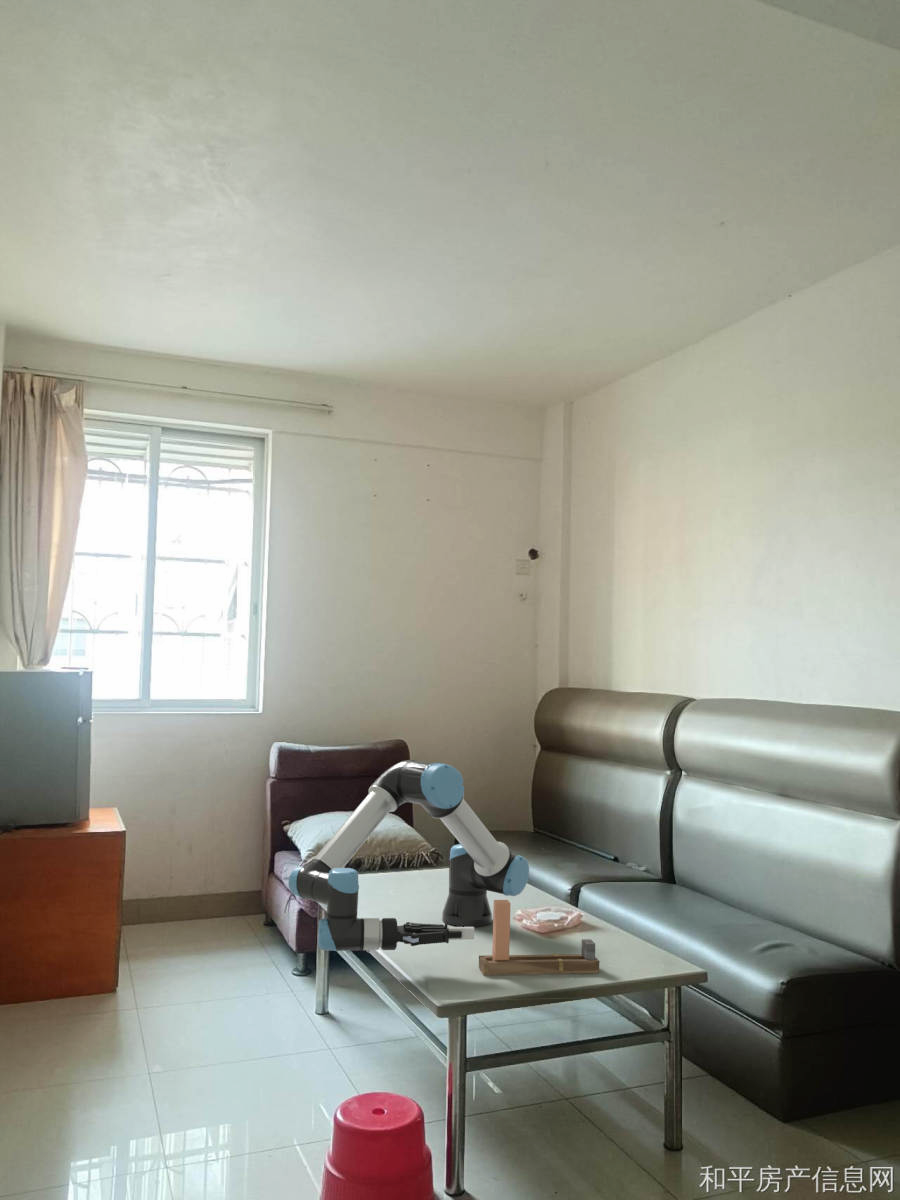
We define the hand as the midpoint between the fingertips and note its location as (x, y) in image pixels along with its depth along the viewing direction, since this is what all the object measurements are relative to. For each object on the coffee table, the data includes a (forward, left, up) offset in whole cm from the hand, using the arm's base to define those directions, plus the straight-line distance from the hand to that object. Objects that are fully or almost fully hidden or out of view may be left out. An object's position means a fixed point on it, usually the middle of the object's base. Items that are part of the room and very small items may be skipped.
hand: (473, 933), depth 234 cm
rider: (0, +7, -9) cm, 12 cm away
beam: (0, +17, -9) cm, 20 cm away
